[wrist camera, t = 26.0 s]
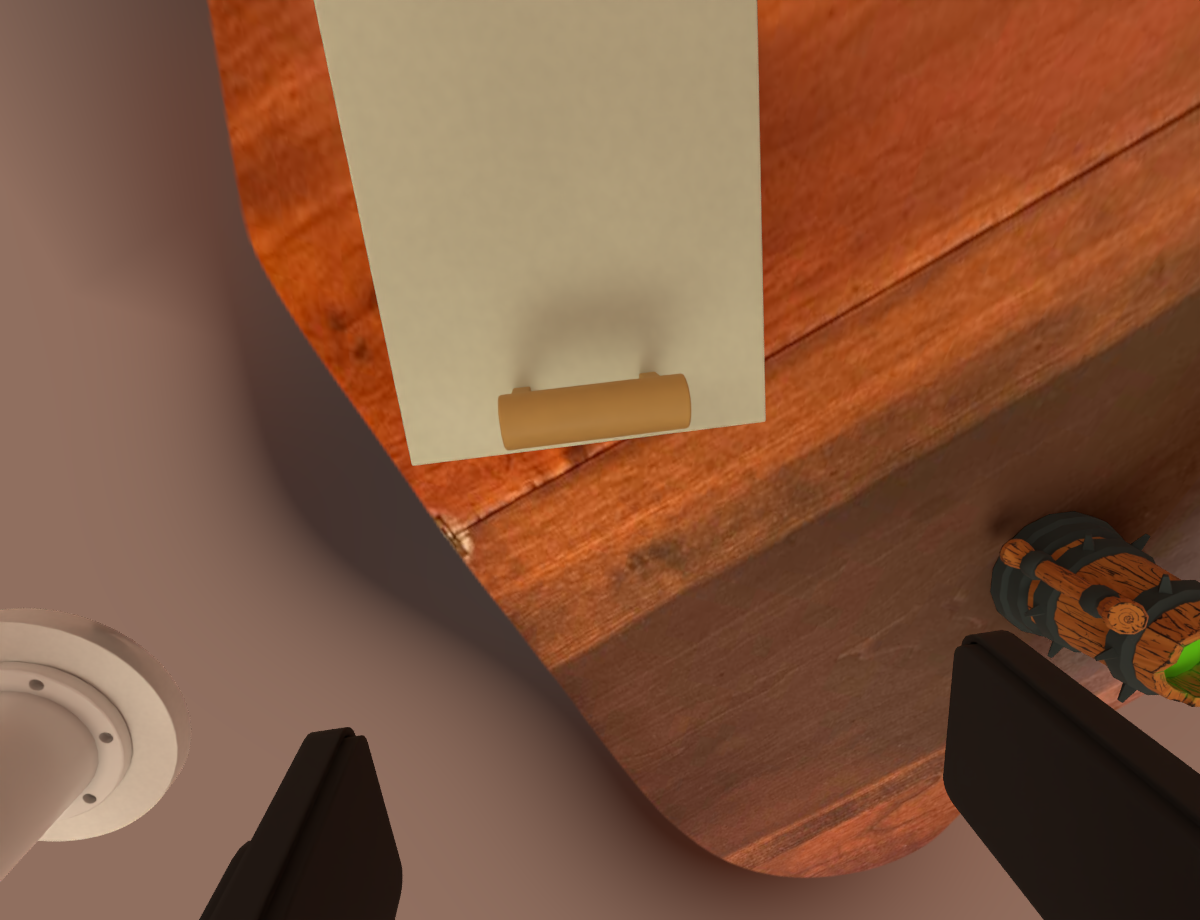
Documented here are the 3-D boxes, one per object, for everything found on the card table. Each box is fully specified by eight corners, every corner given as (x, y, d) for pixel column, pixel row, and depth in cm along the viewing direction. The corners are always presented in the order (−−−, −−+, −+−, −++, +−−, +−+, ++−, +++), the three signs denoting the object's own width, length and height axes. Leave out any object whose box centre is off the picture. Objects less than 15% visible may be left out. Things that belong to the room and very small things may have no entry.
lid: (759, 417, 25) (824, 458, 19) (415, 460, 24) (374, 517, 18) (747, -121, 20) (832, -291, 14) (301, -88, 19) (191, -255, 13)
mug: (1146, 541, 43) (1353, 631, 32) (1057, 651, 45) (1222, 770, 34) (1017, 466, 40) (1194, 536, 29) (929, 587, 42) (1064, 694, 31)
